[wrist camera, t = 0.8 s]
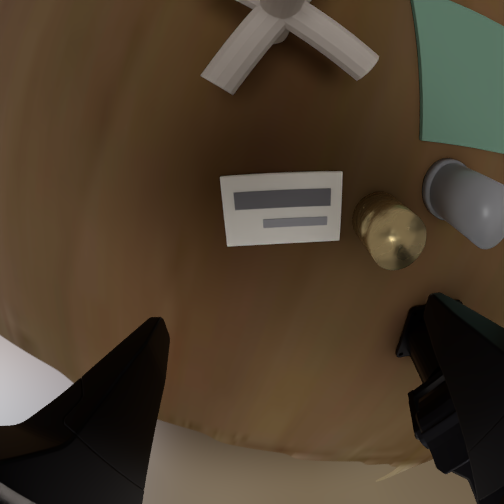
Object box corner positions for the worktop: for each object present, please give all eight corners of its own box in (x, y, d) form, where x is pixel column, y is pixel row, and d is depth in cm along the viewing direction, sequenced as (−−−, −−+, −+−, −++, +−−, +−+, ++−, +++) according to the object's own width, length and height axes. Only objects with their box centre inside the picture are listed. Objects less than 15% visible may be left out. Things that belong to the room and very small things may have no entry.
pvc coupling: (462, 216, 20) (506, 250, 14) (418, 216, 20) (460, 253, 15) (470, 160, 17) (520, 183, 12) (425, 155, 18) (475, 177, 12)
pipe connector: (252, -50, 11) (251, -139, 2) (378, 28, 14) (469, -11, 5) (162, 55, 15) (79, 20, 6) (292, 134, 17) (331, 165, 9)
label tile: (338, 238, 21) (339, 241, 20) (227, 244, 21) (227, 247, 21) (341, 171, 18) (343, 172, 18) (220, 176, 19) (219, 177, 18)
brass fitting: (397, 241, 21) (420, 267, 17) (350, 243, 21) (367, 272, 18) (403, 192, 19) (430, 211, 16) (354, 192, 19) (374, 212, 16)
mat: (517, 156, 17) (520, 157, 16) (419, 139, 17) (422, 140, 17) (513, 34, 11) (516, 34, 11) (408, -12, 11) (410, -13, 11)
